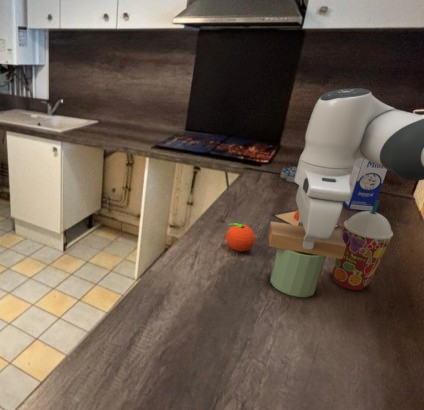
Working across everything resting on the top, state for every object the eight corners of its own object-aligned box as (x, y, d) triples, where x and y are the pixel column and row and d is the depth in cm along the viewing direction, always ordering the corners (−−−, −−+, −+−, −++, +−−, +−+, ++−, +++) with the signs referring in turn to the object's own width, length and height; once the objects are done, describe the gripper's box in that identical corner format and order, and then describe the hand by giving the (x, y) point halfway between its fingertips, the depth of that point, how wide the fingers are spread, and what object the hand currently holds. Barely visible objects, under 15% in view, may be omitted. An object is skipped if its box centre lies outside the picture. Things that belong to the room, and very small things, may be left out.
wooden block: (268, 233, 81) (270, 221, 80) (335, 244, 76) (339, 231, 75) (269, 246, 75) (272, 234, 74) (342, 259, 71) (346, 246, 69)
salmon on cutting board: (302, 210, 116) (306, 198, 115) (338, 226, 106) (342, 213, 104) (274, 215, 112) (277, 203, 111) (308, 232, 102) (312, 219, 100)
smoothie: (318, 276, 82) (343, 196, 74) (343, 268, 85) (370, 190, 77) (354, 297, 75) (386, 211, 67) (380, 289, 78) (414, 205, 70)
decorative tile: (272, 171, 154) (273, 165, 153) (319, 171, 153) (321, 166, 152) (295, 187, 135) (297, 181, 134) (349, 188, 134) (351, 182, 133)
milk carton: (347, 209, 117) (366, 149, 109) (340, 201, 123) (358, 144, 115) (373, 211, 115) (394, 151, 107) (364, 203, 121) (384, 145, 113)
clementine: (215, 247, 95) (219, 223, 92) (228, 238, 99) (233, 215, 96) (244, 259, 89) (249, 234, 86) (257, 250, 93) (262, 225, 90)
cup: (311, 278, 82) (323, 240, 78) (318, 301, 74) (330, 260, 70) (269, 270, 85) (278, 232, 81) (271, 291, 77) (280, 251, 73)
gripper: (297, 160, 79) (283, 216, 85) (310, 191, 62) (291, 259, 68) (330, 163, 77) (313, 221, 83) (353, 196, 60) (330, 266, 65)
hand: (304, 238), depth 75 cm, fingers closed on wooden block, 6 cm apart
